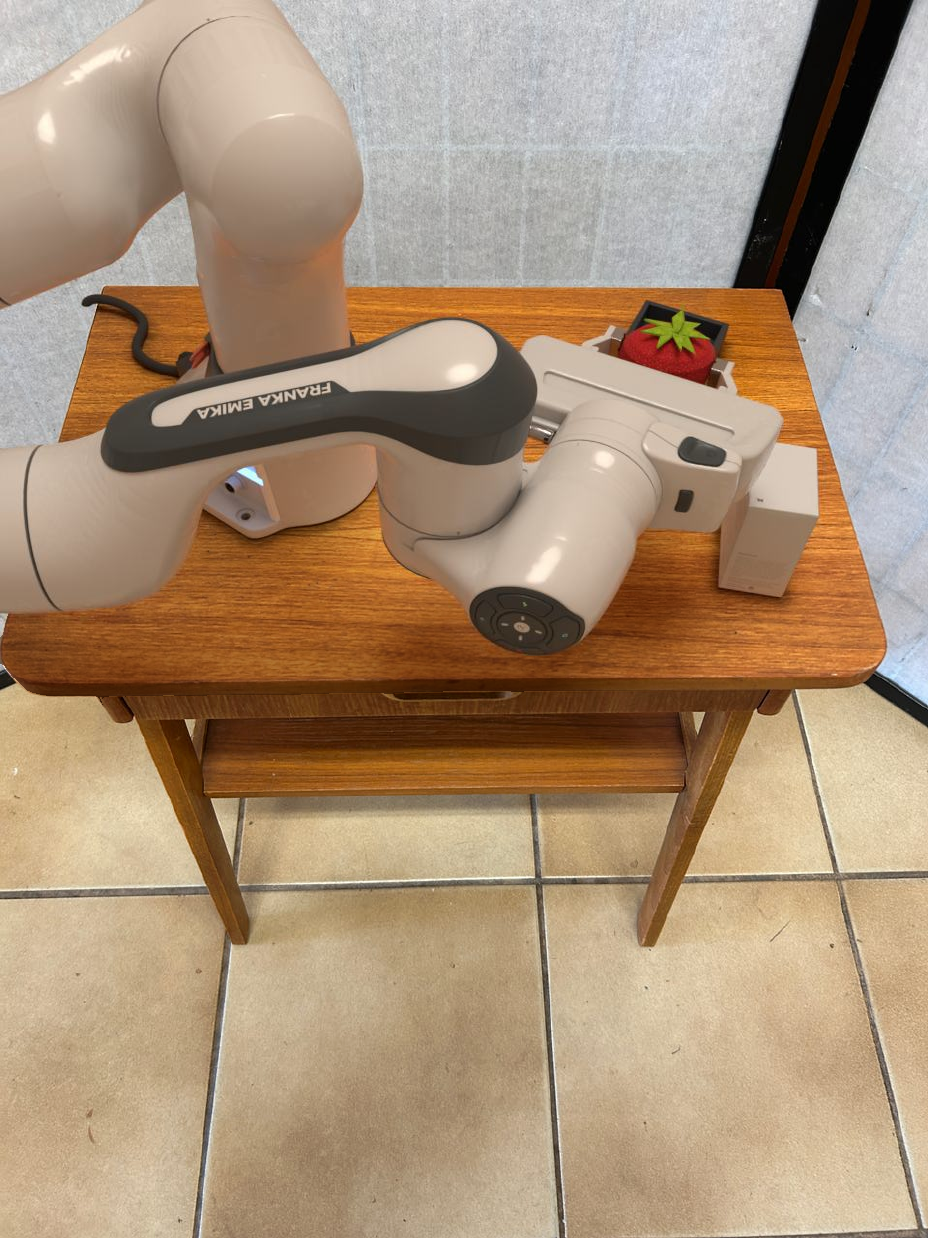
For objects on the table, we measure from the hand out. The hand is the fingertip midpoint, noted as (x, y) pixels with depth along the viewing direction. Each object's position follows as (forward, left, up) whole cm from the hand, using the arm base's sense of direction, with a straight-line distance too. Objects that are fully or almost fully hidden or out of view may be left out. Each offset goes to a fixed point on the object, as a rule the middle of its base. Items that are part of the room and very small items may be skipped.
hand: (671, 350), depth 75 cm
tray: (-3, +20, -17) cm, 26 cm away
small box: (+12, -2, -17) cm, 21 cm away
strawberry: (0, -1, -6) cm, 6 cm away
